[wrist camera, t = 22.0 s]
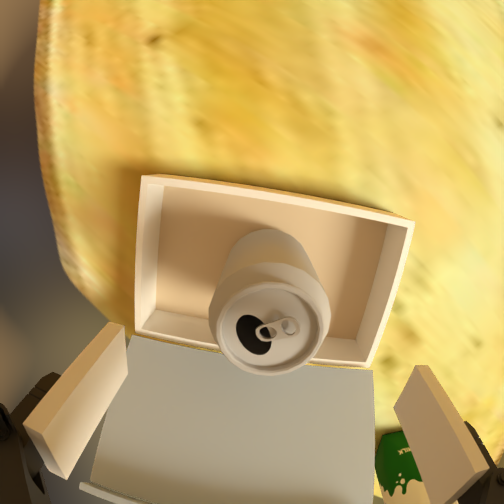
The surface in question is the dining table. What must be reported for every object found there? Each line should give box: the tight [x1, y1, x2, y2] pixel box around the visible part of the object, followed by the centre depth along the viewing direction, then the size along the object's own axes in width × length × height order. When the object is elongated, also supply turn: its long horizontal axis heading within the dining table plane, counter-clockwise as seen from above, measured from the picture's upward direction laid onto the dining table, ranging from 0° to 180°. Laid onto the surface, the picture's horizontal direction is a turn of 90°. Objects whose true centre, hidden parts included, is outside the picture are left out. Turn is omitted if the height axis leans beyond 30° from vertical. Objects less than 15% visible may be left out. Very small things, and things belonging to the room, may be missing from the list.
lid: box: [79, 335, 375, 504], centre depth 20 cm, size 15×22×2 cm
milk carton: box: [375, 431, 458, 504], centre depth 26 cm, size 9×9×20 cm
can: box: [208, 229, 331, 376], centre depth 22 cm, size 8×8×12 cm
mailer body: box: [135, 174, 415, 368], centre depth 26 cm, size 14×22×5 cm, turn 81°
